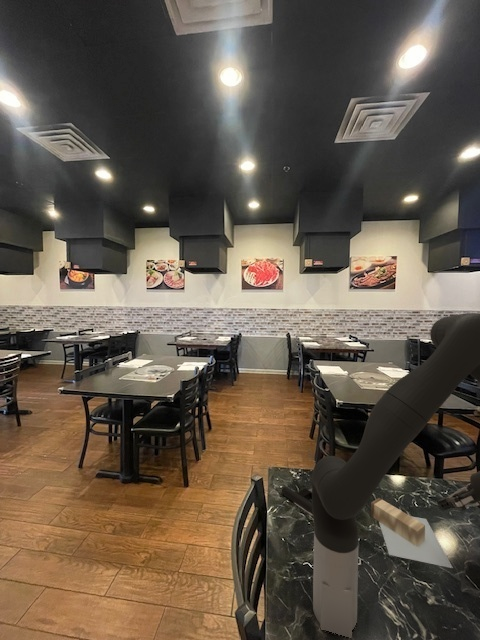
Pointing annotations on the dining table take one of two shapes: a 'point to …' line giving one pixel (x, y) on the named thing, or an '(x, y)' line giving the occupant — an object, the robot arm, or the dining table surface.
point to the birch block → (398, 521)
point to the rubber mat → (424, 552)
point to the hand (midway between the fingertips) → (440, 505)
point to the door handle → (300, 498)
